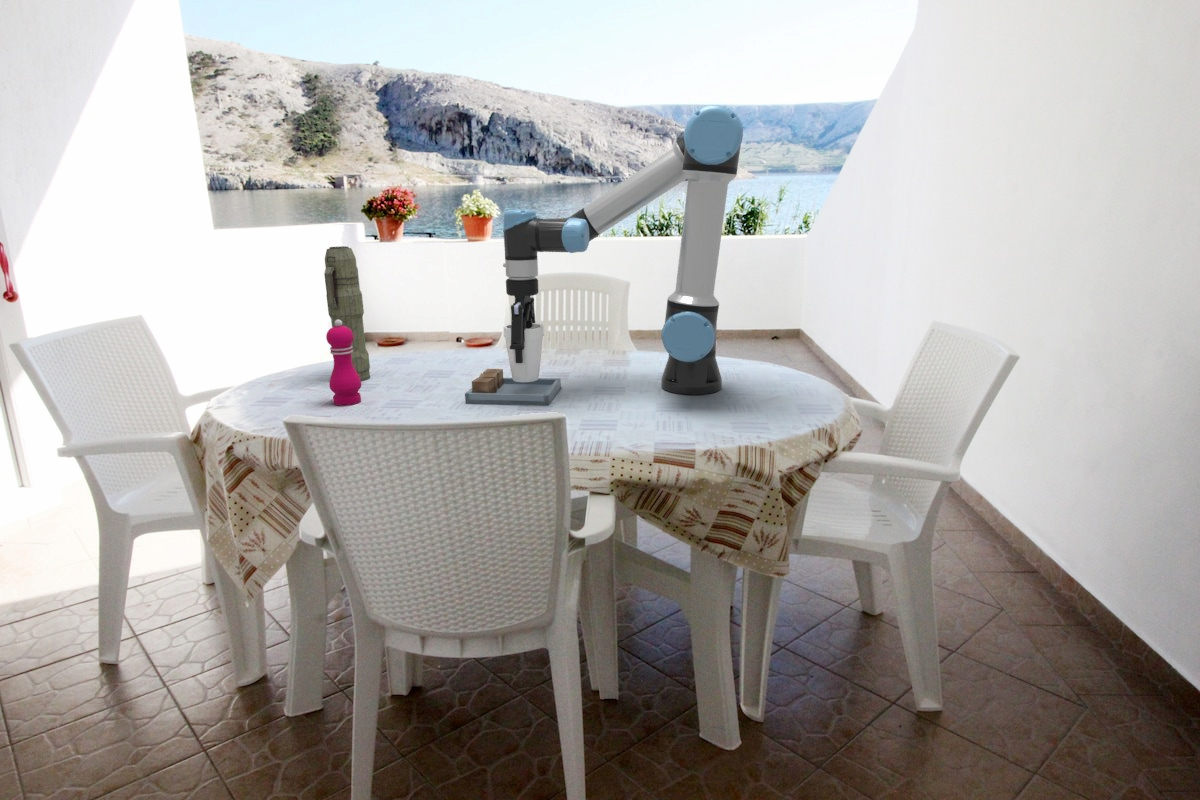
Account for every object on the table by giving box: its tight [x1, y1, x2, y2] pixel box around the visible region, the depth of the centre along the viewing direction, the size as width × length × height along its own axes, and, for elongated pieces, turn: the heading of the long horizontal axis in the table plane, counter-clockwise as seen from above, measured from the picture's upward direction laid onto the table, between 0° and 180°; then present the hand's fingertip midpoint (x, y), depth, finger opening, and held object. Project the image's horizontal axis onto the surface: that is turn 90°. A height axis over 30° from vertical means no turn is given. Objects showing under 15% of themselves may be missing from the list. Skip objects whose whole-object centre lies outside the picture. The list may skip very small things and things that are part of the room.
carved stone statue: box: [323, 245, 371, 382], centre depth 188 cm, size 9×12×35 cm
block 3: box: [482, 368, 504, 388], centre depth 179 cm, size 4×4×4 cm
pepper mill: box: [325, 320, 362, 407], centre depth 169 cm, size 7×7×20 cm
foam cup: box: [503, 322, 545, 382], centre depth 172 cm, size 10×9×13 cm
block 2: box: [478, 372, 498, 393], centre depth 175 cm, size 4×4×4 cm
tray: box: [464, 377, 562, 406], centre depth 175 cm, size 20×16×2 cm
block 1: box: [471, 376, 495, 393], centre depth 171 cm, size 4×4×4 cm
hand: (525, 370), depth 173 cm, fingers closed on foam cup, 9 cm apart
